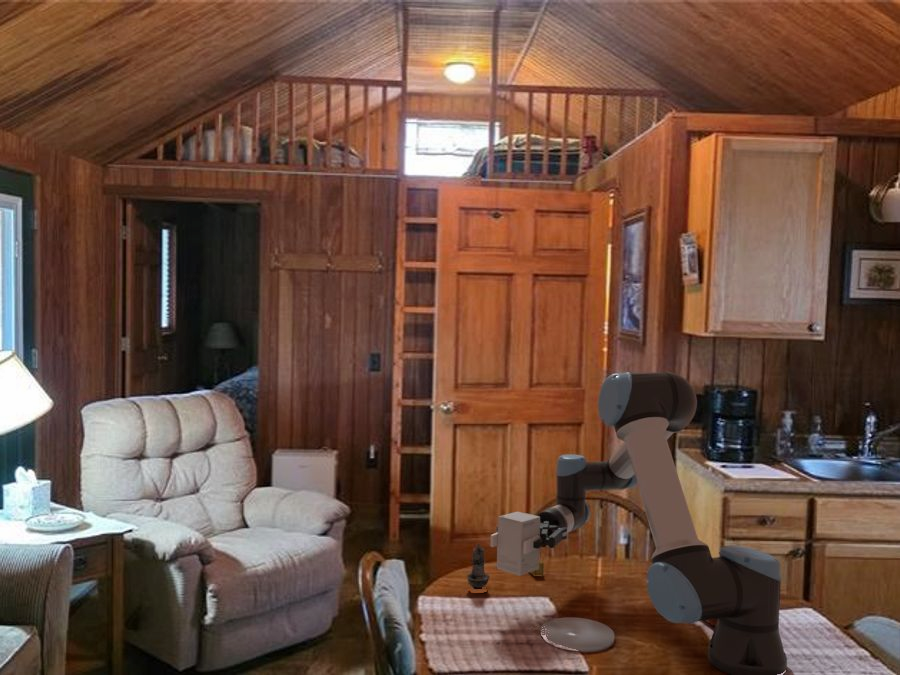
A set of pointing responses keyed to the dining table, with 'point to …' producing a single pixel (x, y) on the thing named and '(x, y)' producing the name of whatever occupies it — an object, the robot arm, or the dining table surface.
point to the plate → (579, 634)
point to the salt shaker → (478, 569)
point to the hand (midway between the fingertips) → (508, 544)
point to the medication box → (540, 570)
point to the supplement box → (517, 543)
